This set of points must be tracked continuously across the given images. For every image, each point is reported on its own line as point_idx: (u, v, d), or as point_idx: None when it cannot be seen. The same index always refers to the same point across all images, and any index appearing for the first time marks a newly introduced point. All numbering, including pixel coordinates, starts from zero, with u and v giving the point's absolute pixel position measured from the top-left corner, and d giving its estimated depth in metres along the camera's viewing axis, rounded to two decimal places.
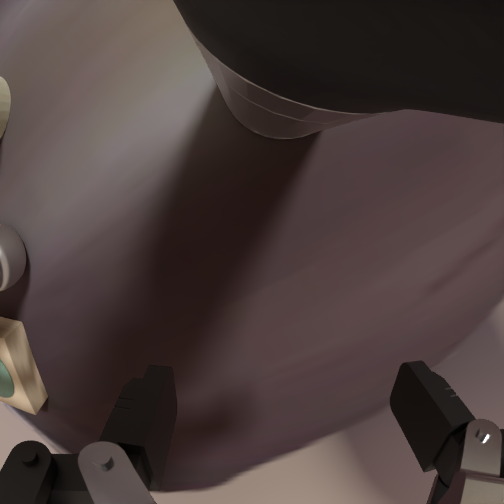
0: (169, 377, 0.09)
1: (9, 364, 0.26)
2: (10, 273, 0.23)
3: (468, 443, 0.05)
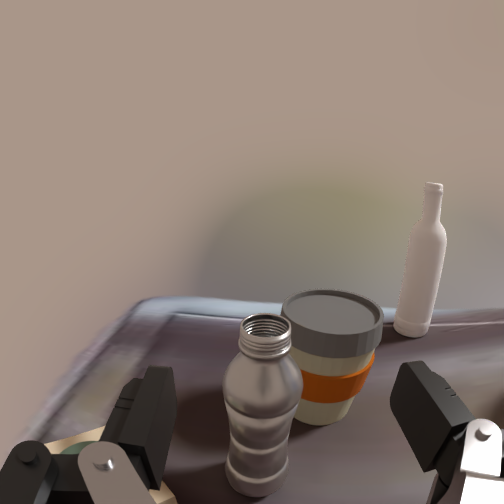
0: (169, 377, 0.09)
1: None
2: (268, 483, 0.23)
3: (468, 443, 0.05)
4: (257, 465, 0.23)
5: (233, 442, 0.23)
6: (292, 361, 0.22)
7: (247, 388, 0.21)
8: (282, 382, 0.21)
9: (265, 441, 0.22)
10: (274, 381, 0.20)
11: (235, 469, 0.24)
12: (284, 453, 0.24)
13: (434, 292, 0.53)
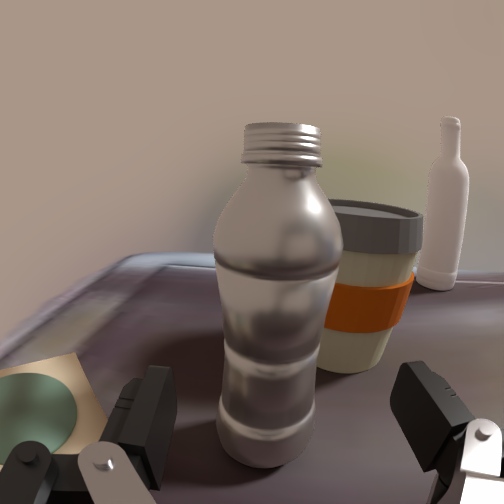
0: (169, 377, 0.09)
1: None
2: (286, 439, 0.16)
3: (468, 443, 0.05)
4: (269, 401, 0.15)
5: (229, 358, 0.16)
6: (324, 195, 0.15)
7: (255, 217, 0.13)
8: (314, 209, 0.13)
9: (284, 343, 0.14)
10: (301, 204, 0.13)
11: (231, 415, 0.16)
12: (312, 383, 0.16)
13: (460, 236, 0.45)
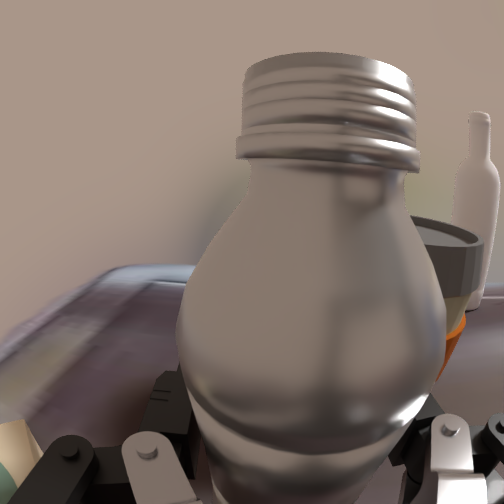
0: None
1: None
2: None
3: (435, 441, 0.06)
4: None
5: (219, 501, 0.07)
6: None
7: (273, 311, 0.05)
8: (418, 282, 0.05)
9: None
10: (394, 272, 0.05)
11: None
12: None
13: (490, 249, 0.37)
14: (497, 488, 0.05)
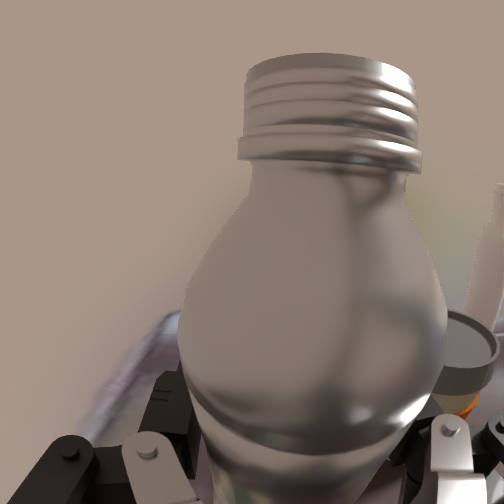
0: None
1: None
2: None
3: (435, 441, 0.06)
4: None
5: (220, 501, 0.07)
6: None
7: (274, 312, 0.05)
8: (420, 283, 0.05)
9: None
10: (396, 273, 0.04)
11: None
12: None
13: (501, 302, 0.42)
14: (497, 488, 0.05)
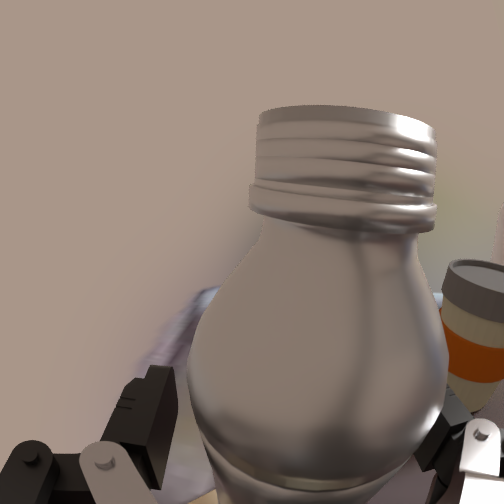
0: (170, 377, 0.09)
1: None
2: None
3: (467, 443, 0.05)
4: None
5: None
6: None
7: (286, 374, 0.05)
8: (426, 341, 0.05)
9: None
10: (403, 336, 0.04)
11: None
12: None
13: None
14: None
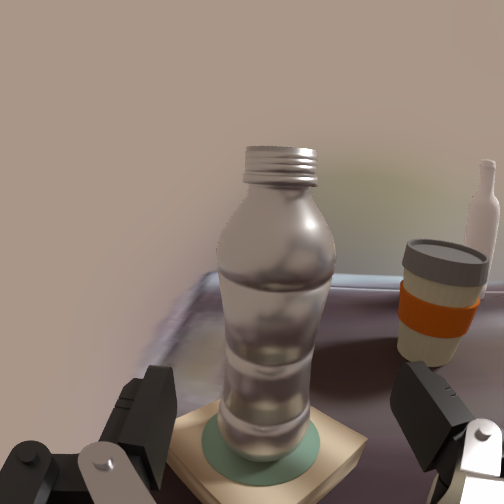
0: (169, 377, 0.09)
1: (329, 460, 0.19)
2: (282, 435, 0.17)
3: (468, 443, 0.05)
4: (267, 400, 0.16)
5: (230, 360, 0.17)
6: (319, 211, 0.16)
7: (254, 234, 0.14)
8: (309, 227, 0.14)
9: (281, 347, 0.15)
10: (297, 222, 0.14)
11: (232, 412, 0.17)
12: (306, 383, 0.18)
13: (491, 257, 0.52)
14: None
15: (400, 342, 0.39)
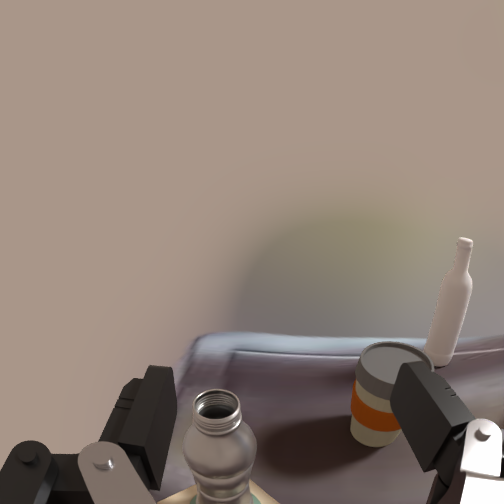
0: (169, 377, 0.09)
1: None
2: None
3: (468, 443, 0.05)
4: None
5: (197, 488, 0.23)
6: (244, 432, 0.22)
7: (200, 455, 0.20)
8: (232, 452, 0.21)
9: (223, 493, 0.22)
10: (224, 452, 0.20)
11: None
12: (245, 499, 0.24)
13: (459, 330, 0.59)
14: None
15: (351, 425, 0.45)
